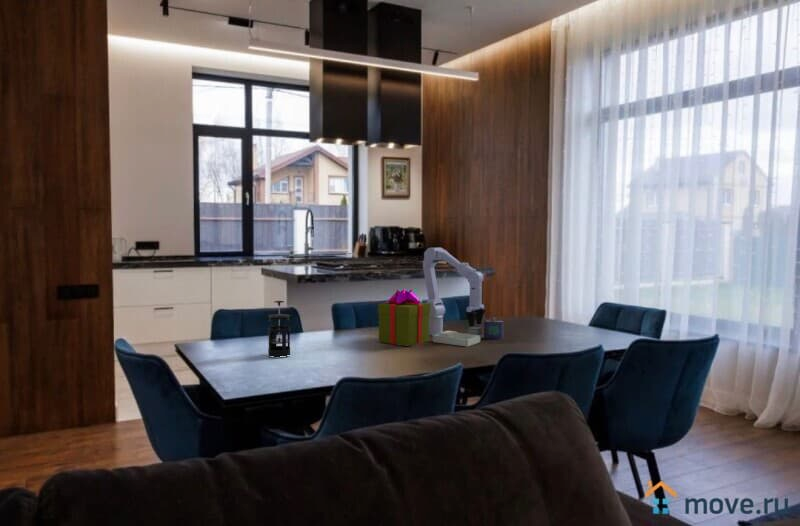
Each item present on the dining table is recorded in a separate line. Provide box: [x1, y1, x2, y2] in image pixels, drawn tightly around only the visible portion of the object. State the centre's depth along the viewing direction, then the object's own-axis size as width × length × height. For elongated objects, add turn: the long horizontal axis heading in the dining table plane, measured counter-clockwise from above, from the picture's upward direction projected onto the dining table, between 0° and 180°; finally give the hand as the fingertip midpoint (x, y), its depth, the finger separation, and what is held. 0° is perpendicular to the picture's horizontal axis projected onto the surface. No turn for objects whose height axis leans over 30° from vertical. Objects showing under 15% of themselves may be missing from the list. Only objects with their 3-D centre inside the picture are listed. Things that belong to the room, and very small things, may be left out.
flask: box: [483, 317, 504, 340], centre depth 280 cm, size 9×3×11 cm, turn 87°
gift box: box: [377, 288, 430, 347], centre depth 270 cm, size 21×21×25 cm
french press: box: [267, 300, 291, 357], centre depth 239 cm, size 12×9×23 cm
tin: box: [468, 326, 482, 340], centre depth 277 cm, size 5×5×6 cm
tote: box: [432, 332, 482, 347], centre depth 270 cm, size 18×13×4 cm
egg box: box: [439, 330, 458, 338], centre depth 272 cm, size 5×8×4 cm, turn 146°
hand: (475, 325), depth 276 cm, fingers open, 7 cm apart
